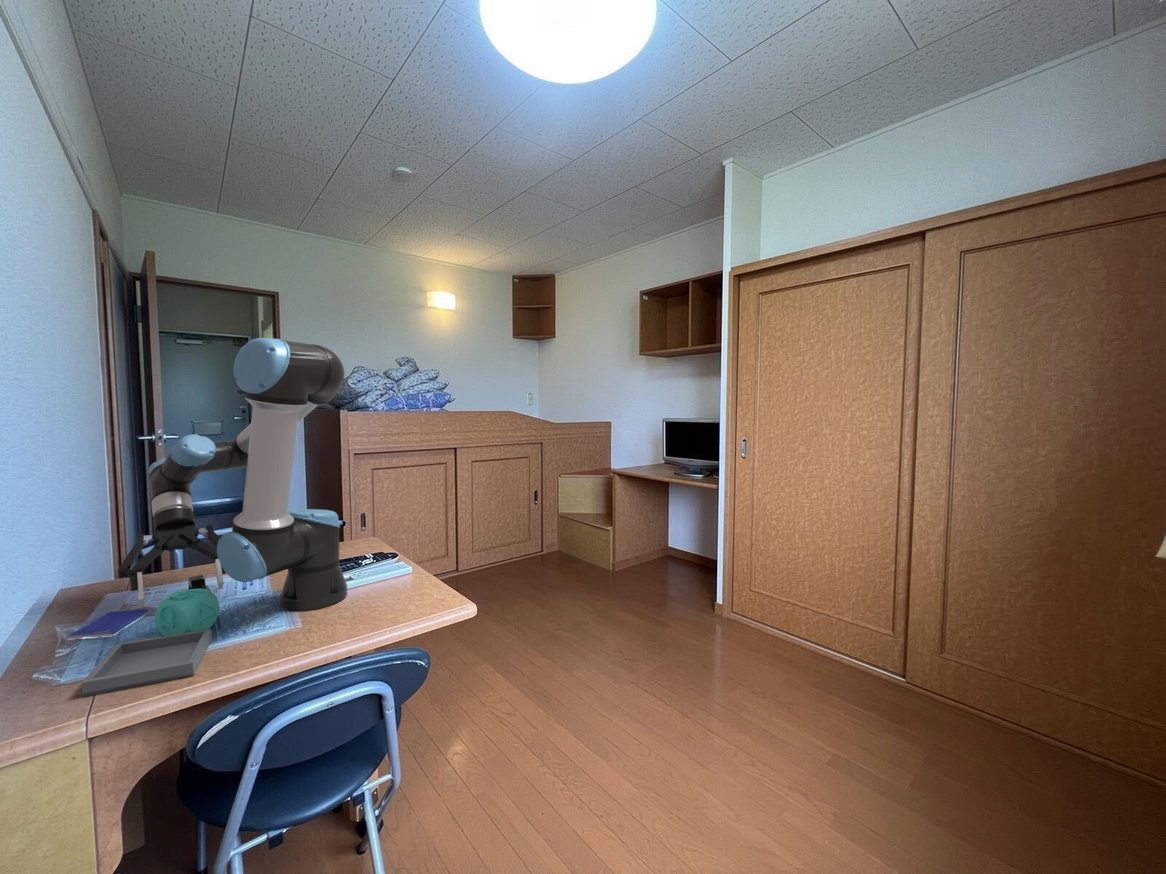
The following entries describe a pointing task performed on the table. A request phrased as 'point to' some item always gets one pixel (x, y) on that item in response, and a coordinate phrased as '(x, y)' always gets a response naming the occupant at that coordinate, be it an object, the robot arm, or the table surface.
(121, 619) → the purple flat rectangle
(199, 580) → the black boxy piece
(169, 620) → the decorative dice
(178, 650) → the tray
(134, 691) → the table surface
